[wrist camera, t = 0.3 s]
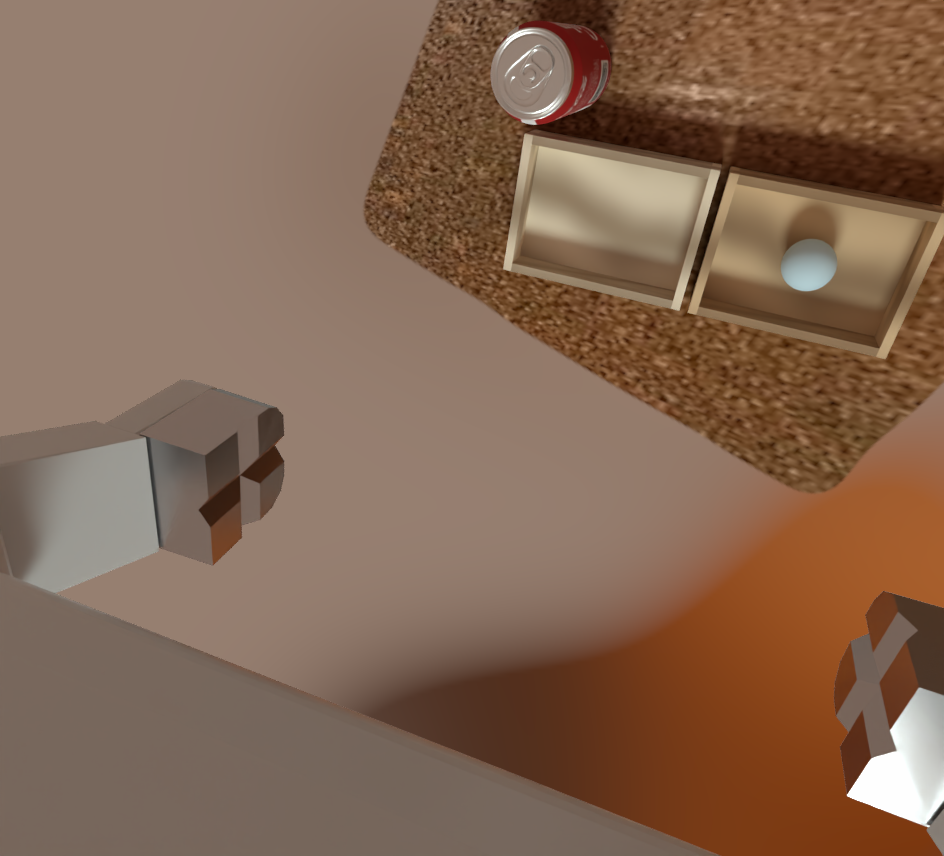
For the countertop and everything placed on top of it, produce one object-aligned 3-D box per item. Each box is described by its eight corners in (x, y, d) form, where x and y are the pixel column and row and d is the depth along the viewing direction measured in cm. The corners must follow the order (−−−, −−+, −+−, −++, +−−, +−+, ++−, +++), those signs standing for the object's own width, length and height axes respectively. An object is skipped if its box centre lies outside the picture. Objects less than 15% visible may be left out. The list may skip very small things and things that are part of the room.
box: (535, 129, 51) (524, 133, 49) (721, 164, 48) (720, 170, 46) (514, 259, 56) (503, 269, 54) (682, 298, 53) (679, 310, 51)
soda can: (522, 74, 50) (466, 81, 40) (572, 6, 47) (525, -4, 37) (576, 127, 50) (534, 147, 40) (629, 63, 47) (598, 67, 37)
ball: (789, 228, 48) (792, 240, 45) (842, 239, 48) (848, 251, 45) (772, 277, 50) (774, 290, 47) (823, 288, 49) (828, 302, 46)
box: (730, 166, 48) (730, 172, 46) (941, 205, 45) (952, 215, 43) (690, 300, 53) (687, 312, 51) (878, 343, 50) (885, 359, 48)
